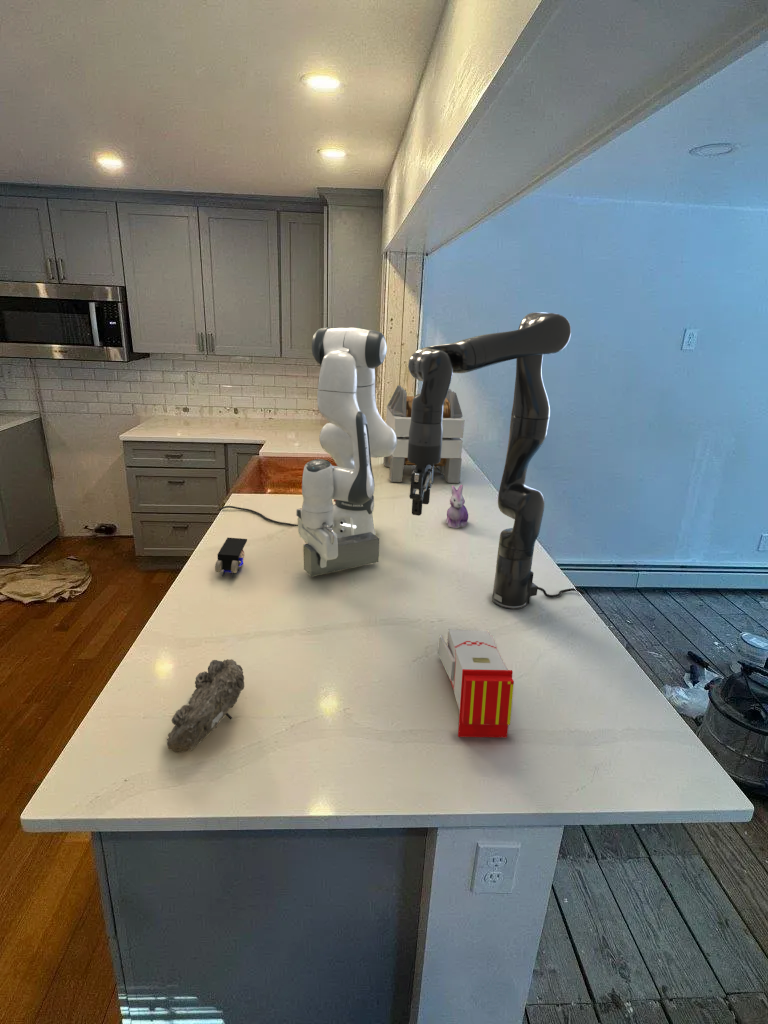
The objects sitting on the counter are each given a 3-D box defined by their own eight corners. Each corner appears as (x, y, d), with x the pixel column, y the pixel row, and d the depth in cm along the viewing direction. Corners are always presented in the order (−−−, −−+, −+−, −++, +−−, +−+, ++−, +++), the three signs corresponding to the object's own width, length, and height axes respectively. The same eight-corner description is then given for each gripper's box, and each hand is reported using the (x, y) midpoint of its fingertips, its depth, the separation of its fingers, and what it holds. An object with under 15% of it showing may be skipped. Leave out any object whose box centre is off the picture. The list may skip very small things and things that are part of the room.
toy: (488, 613, 130) (523, 677, 101) (484, 667, 133) (517, 744, 104) (435, 612, 130) (455, 676, 101) (432, 666, 133) (451, 743, 103)
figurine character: (238, 584, 162) (249, 557, 175) (236, 562, 158) (247, 536, 172) (215, 584, 161) (227, 556, 175) (212, 561, 158) (225, 535, 171)
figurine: (453, 530, 205) (457, 490, 200) (438, 521, 213) (441, 482, 208) (475, 527, 209) (479, 488, 204) (459, 517, 217) (462, 480, 212)
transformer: (382, 463, 289) (386, 382, 275) (445, 464, 293) (451, 384, 279) (390, 482, 257) (394, 392, 243) (460, 483, 261) (468, 394, 247)
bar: (311, 576, 162) (311, 551, 159) (303, 569, 166) (303, 544, 164) (378, 562, 173) (379, 538, 170) (369, 555, 177) (370, 532, 175)
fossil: (192, 660, 117) (244, 628, 112) (224, 691, 120) (276, 661, 115) (142, 746, 98) (202, 712, 93) (182, 779, 101) (242, 748, 96)
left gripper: (344, 528, 153) (343, 574, 158) (313, 505, 170) (313, 547, 175) (322, 531, 150) (322, 578, 155) (293, 508, 167) (294, 551, 172)
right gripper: (435, 449, 120) (430, 521, 126) (447, 436, 133) (441, 502, 138) (401, 446, 122) (397, 516, 127) (416, 433, 135) (412, 498, 140)
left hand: (317, 562), depth 165 cm, fingers closed on bar, 5 cm apart
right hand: (420, 509), depth 133 cm, fingers open, 8 cm apart
